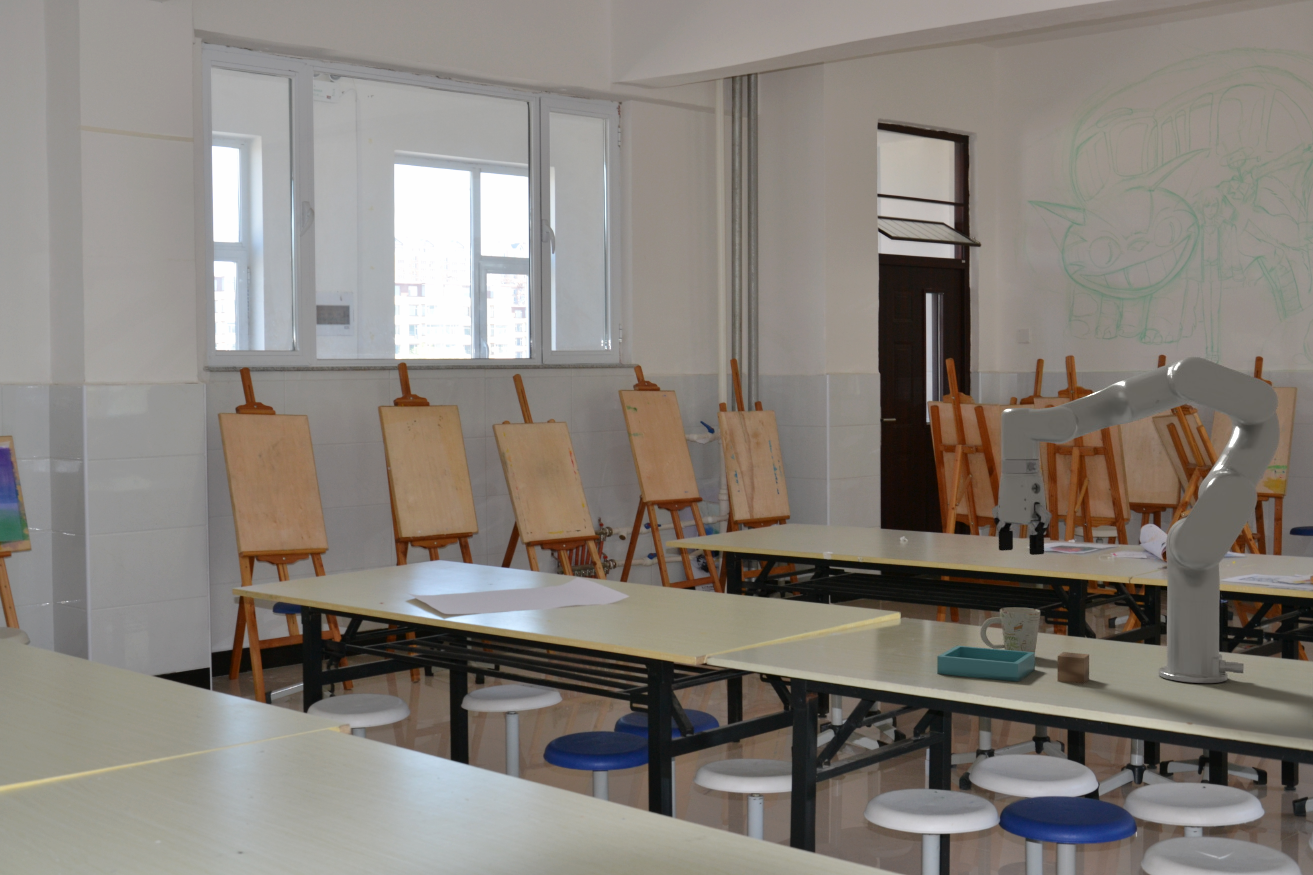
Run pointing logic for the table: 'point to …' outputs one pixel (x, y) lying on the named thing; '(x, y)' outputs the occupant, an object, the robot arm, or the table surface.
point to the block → (1073, 667)
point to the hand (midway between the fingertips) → (1021, 552)
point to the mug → (1015, 629)
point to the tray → (986, 663)
